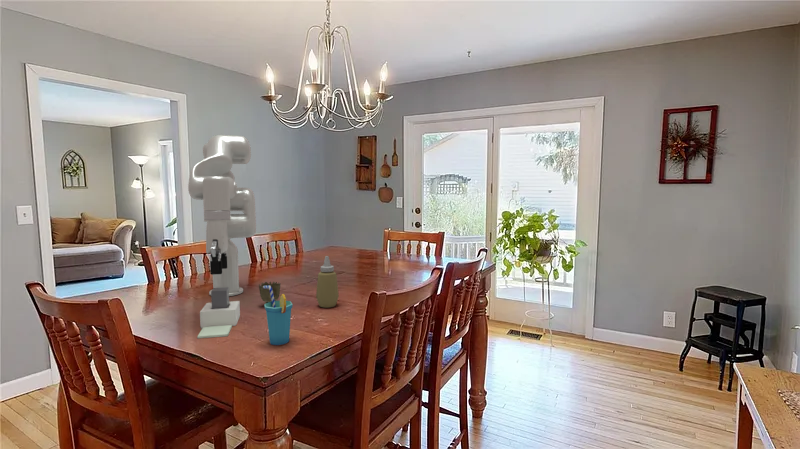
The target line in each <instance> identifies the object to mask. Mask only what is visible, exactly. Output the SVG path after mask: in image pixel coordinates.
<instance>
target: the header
mask: <svg viewBox="0 0 800 449" xmlns="http://www.w3.org/2000/svg"><path fill="white" fill-rule="evenodd" d="M240 309H241V304H240V300H234V301H232V300H231V301H229V308H221V309H212V302H206V303H205V304H204V306H203V307H202V309H201V310H200V311H199V321H200V326H199V327H200V329H202V328H203V327H211V326H225V325H232V327H234V326H235V327H236V326H237V325H238V321H239V319H240V317H241V310H240Z"/></svg>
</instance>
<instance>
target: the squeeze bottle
mask: <svg viewBox="0 0 800 449" xmlns="http://www.w3.org/2000/svg"><path fill="white" fill-rule="evenodd" d="M334 270H335V268H334V265H332V264H331V260H330V256H329V255H325V257H324V261H323V265H321V266H320V272H318V274H317V279H316V280H317V282H316V294H315V298H316V300H317V304H318V306H319V307H320V308H326V309H327V308H333V307H336V305H337V302H338V299H339V296H340V295H339V287H338V285H339V284H338V275H337V273H336V271H334Z"/></svg>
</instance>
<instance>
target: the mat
mask: <svg viewBox="0 0 800 449" xmlns="http://www.w3.org/2000/svg"><path fill="white" fill-rule="evenodd" d="M232 328H233V326H232V325H225V326H211V327H203V328H201V330H200V331H199V333H198V335H197V339H206V338H218V337H219V338H220V337H229V334H230V332H231V330H232Z"/></svg>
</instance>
